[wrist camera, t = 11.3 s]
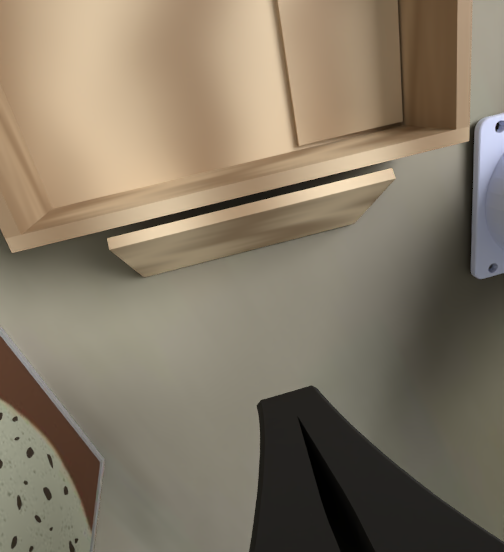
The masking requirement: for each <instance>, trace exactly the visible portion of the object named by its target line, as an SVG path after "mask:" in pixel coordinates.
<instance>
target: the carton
mask: <svg viewBox="0 0 504 552" xmlns="http://www.w3.org/2000/svg"><path fill="white" fill-rule="evenodd" d="M471 40H472V0H0V229H1V231H2V233H3V236H4V238H5V240H6V242H7V244H8V246H9V248H10V250H11V252H12V253H15V252H19V251H23V250H27V249H31V248H35V247H39V246H43V245H47V244H51V243H55V242H60V241H64V240H68V239H72V238H76V237H80V236H84V235H88V234H92V233H96V232H100V231H104V230H108V229H113V228H117V227H121V226H125V225H129V224H133V223H137V222H141V221H145V220H149V219H153V218H157V217H161V216H166V215H170V214H174V213H178V212H182V211H186V210H190V209H194V208H198V207H202V206H206V205H210V204H215V203H219V202H223V201H227V200H231V199H235V198H239V197H243V196H247V195H251V194H255V193H259V192H263V191H268V190H272V189H276V188H280V187H284V186H288V185H292V184H296V183H300V182H304V181H308V180H312V179H317V178H321V177H325V176H329V175H333V174H337V173H341V172H345V171H349V170H353V169H357V168H361V167H365V166H370V165H374V164H378V163H382V162H386V161H390V160H394V159H398V158H402V157H406V156H410V155H414V154H418V153H423V152H427V151H431V150H435V149H439V148H443V147H447V146H451V145H455V144H459V143H463V142H467V141H469V129H470V85H471ZM395 179H396V178H395V175H394V172H393V169H392V168H390V169H386V170H382V171H378V172H374V173H370V174H366V175H362V176H357V177H353V178H349V179H345V180H341V181H337V182H333V183H329V184H325V185H321V186H317V187H313V188H309V189H305V190H301V191H297V192H293V193H289V194H285V195H281V196H276V197H272V198H268V199H264V200H260V201H256V202H252V203H248V204H244V205H240V206H236V207H232V208H228V209H224V210H220V211H216V212H212V213H208V214H204V215H200V216H195V217H191V218H187V219H183V220H179V221H175V222H171V223H167V224H163V225H159V226H155V227H151V228H147V229H143V230H139V231H135V232H131V233H127V234H123V235H118V236H114V237H110V238H107V241H108V246H109V250H110V251H111V252H113V253H114V254H115V255H117V256H118V257H119V258H120V259H122V260H123V261H124V262H125V263H127V264H128V265H129V266H130V267H132V268H133V269H134V270H135V271H137V272H138V273H139V274H141V275H142V276H143V277H148V276H152V275H156V274H160V273H164V272H167V271H171V270H175V269H179V268H183V267H187V266H191V265H195V264H199V263H203V262H206V261H210V260H214V259H218V258H222V257H226V256H230V255H234V254H238V253H241V252H245V251H249V250H253V249H257V248H261V247H265V246H269V245H273V244H276V243H280V242H284V241H288V240H292V239H296V238H300V237H304V236H308V235H311V234H315V233H319V232H323V231H327V230H331V229H335V228H339V227H343V226H347V225H350V224H354V223H355V222H356V221H357V220H358V219H359V218H360V217H361V216H362V215H363V214H364V213H365V211H366V210H367V209H368V208H369V207H370V206H371V205H372V204H373V203H374V202H375V201H376V199H377V198H378V197H379V196H380V195H381V194H382V193H383V192H384V191H385V190H386V189H387V187H388V186H389V185H390V184H391V183H392V182H393V181H394V180H395Z"/></svg>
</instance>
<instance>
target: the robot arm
mask: <svg viewBox="0 0 504 552" xmlns="http://www.w3.org/2000/svg"><path fill="white" fill-rule="evenodd" d="M498 122H499V128H498V130H497V131H495V126H496V124H497V123H498ZM491 264H492V267H491V268H490V269H489V266H490V265H491ZM502 273H504V113H501V114H497V115H492V116H488V117H485V118H482V119H481V120H480V121H479V122H478V123H477V125H476V127H475V132H474V169H473V205H472V242H471V274H472V275H473V276H474V277H476V278H478V279H484V278H488V277H491V276H495V275H499V274H502ZM257 409H258V413H259V422H260V464H259V480H258V492H257V500H256V508H255V516H254V524H253V531H252V538H251V544H250V550H249V552H504V542H503V541H501V540H500V539H498V538H497V537H495V536H494V535H492V534H491V533H489V532H488V531H486V530H485V529H483V528H482V527H480V526H479V525H477V524H476V523H474V522H473V521H471V520H470V519H468V518H467V517H465V516H464V515H463V514H461V513H460V512H458V511H457V510H455V509H454V508H453V507H451V506H450V505H448V504H447V503H446V502H444V501H443V500H441V499H440V498H439V497H437V496H436V495H435V494H433V493H432V492H431V491H429V490H428V489H427V488H425V487H424V486H423V485H422V484H420V483H419V482H418V481H416V480H415V479H414V478H413V477H411V476H410V475H409V474H408V473H406V472H405V471H404V470H403V469H401V468H400V467H399V466H398V465H396V464H395V463H394V462H393V461H392V460H391V459H389V458H388V457H387V456H386V455H385V454H383V453H382V452H381V451H380V450H379V449H378V448H377V447H376V446H374V445H373V444H372V443H371V442H370V441H369V440H368V439H366V438H365V437H364V436H363V435H362V434H361V433H360V432H359V431H358V430H357V429H356V428H354V427H353V426H352V425H351V424H350V423H349V422H348V421H347V420H346V419H345V418H344V417H343V416H342V415H341V414H340V413H339V412H338V411H337V410H336V409H335V408H334V407H333V406H332V405H331V404H330V403H329V401H328V400H327V399H326V398H325V397H324V396H323V395H322V394H321V393H320V391H319V390H318V389H317V388H315V387H313V386H309V387H305V388H302V389H298V390H295V391H292V392H288V393H285V394H281V395H278V396H274V397H271V398H267V399H264V400H261V401H260V402H259V403H258V405H257Z"/></svg>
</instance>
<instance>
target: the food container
mask: <svg viewBox="0 0 504 552" xmlns="http://www.w3.org/2000/svg"><path fill="white" fill-rule="evenodd" d="M104 465H105V459H104V458H103V457H102V455H101V454H100V453H99V452H98V450H97V449H96V448H95V446H94V445H93V444H92V443H91V441H90V440H89V439H88V437H87V436H86V435H85V434H84V432H83V431H82V430H81V428H80V427H79V426H78V425H77V423H76V422H75V421H74V419H73V418H72V417H71V416H70V414H69V413H68V412H67V410H66V409H65V408H64V407H63V405H62V404H61V403H60V401H59V400H58V399H57V398H56V396H55V395H54V394H53V392H52V391H51V390H50V389H49V387H48V386H47V385H46V383H45V382H44V381H43V380H42V378H41V377H40V376H39V374H38V373H37V372H36V371H35V369H34V368H33V367H32V365H31V364H30V363H29V362H28V360H27V359H26V358H25V356H24V355H23V354H22V353H21V351H20V350H19V349H18V348H17V346H16V345H15V344H14V342H13V341H12V340H11V339H10V337H9V336H8V335H7V333H6V332H5V331H4V330H3V328H2V327H1V326H0V552H94V549H95V540H96V532H97V524H98V515H99V507H100V498H101V490H102V482H103V473H104Z"/></svg>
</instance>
